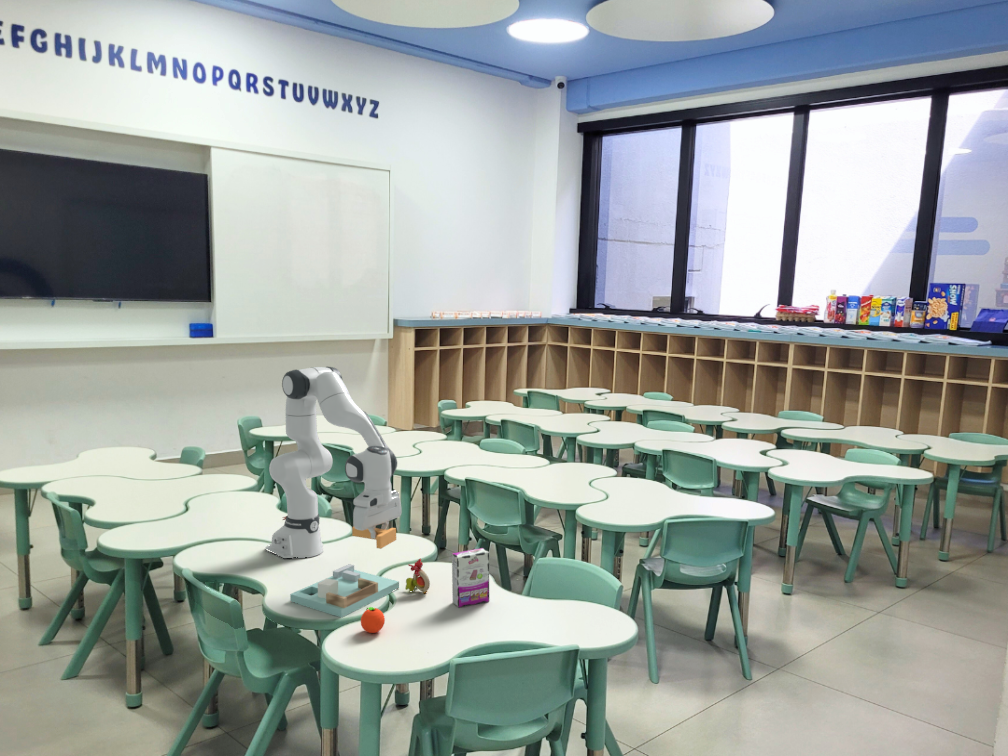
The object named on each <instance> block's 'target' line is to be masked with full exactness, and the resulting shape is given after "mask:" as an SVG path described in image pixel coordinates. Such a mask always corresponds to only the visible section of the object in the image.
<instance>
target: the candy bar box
mask: <svg viewBox="0 0 1008 756" xmlns="http://www.w3.org/2000/svg"><path fill="white" fill-rule="evenodd" d="M451 574H452V577H451V578H452V579H451V582H452V584H451V585H452V587H451V588H452V591H451V592H452V603H453V604H454V605H455V606H456V607H458V608H463V607H464V608H465V607H468V606H474V605H477V604H482V603H487V602H490V552H489V551H488V550H486V549H485V548H484V547H481V548H475V549H469V550H464V551H459V552H453V553H451Z"/></svg>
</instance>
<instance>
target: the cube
mask: <svg viewBox="0 0 1008 756" xmlns="http://www.w3.org/2000/svg"><path fill="white" fill-rule="evenodd" d="M327 578H328V577H326V578H324V579H322V580H323V581H322V580H320V581H321V582H319V581H318V582H319V583H318V597H320V598H325V599H326V593H328V592H330V593H333V594H337V595H338V580H332V579H327Z"/></svg>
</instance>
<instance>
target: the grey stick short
mask: <svg viewBox="0 0 1008 756" xmlns="http://www.w3.org/2000/svg"><path fill="white" fill-rule="evenodd" d="M346 570H348V571H352V572H354V570H355V565H354V564H351V563H348V564H346V565H344V566H341V567H339V568H337V569H334V570H332V576H333V578H337V579H338V578H340V577H342V572H344V571H346Z"/></svg>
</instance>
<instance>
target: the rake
mask: <svg viewBox="0 0 1008 756" xmlns="http://www.w3.org/2000/svg"><path fill="white" fill-rule="evenodd" d="M375 532H377V533H378V535H377V536H376V538H375V539H372V538H371V533H370V531H369V530H368V529H366V530H363V531H362V530H357V529H355V527H354V526H352V529H351V533H352V537H356V538H361V539H362V538H363V539H369V540H375V541H376V549H380V550H381V549H383V548H384V547H386V546H388V545H390V544H391V543H394V542H395V541H397V528H396V527H391V528H389V529H388V528H387V529H386V530H385V529H381V528H378V527H376V529H375Z"/></svg>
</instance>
